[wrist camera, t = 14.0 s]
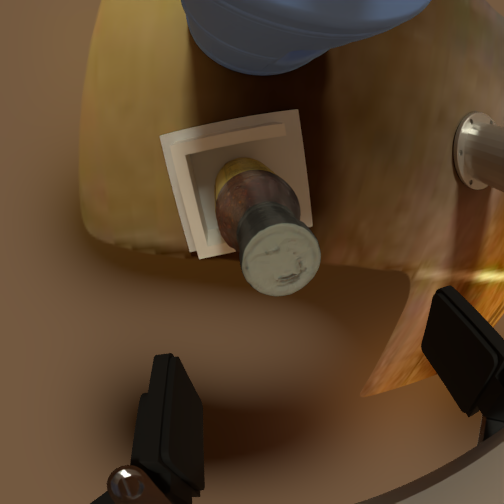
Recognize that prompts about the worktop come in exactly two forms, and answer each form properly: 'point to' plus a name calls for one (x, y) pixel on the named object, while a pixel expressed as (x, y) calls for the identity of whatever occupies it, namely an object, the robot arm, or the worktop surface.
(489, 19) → the worktop surface
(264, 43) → the water jug
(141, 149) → the worktop surface
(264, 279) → the sauce bottle
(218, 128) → the end holder
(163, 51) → the worktop surface
